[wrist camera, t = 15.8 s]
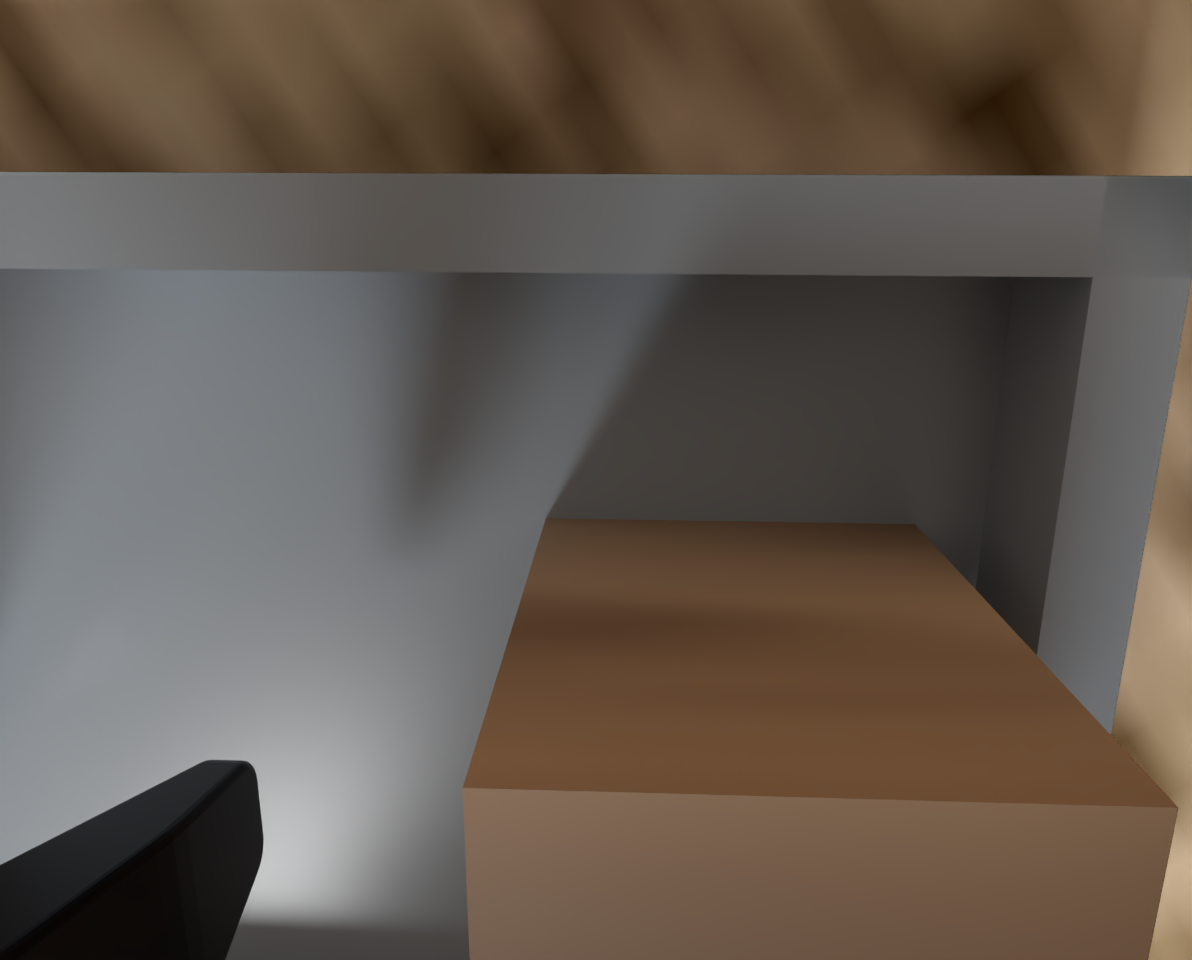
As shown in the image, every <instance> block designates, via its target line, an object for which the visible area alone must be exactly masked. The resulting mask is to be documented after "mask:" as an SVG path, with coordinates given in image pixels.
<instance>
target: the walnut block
mask: <svg viewBox="0 0 1192 960" xmlns="http://www.w3.org/2000/svg"><path fill="white" fill-rule="evenodd" d="M463 810H464V834H465V858H466V882H467V907H468V931H469V955H470V960H1148V957H1149V952H1150V947H1151V942H1152V937H1153V932H1154V927H1155V922H1156V917H1157V912H1158V907H1159V902H1160V897H1161V892H1162V887H1163V882H1164V877H1165V872H1166V867H1167V862H1168V857H1169V852H1170V847H1171V842H1172V837H1173V832H1174V827H1175V822H1176V817H1177V813H1178V807H1177V806H1176V805H1175V804H1174V803H1173V801H1172V800H1171V799H1170V798H1169V797H1168V796H1167V795H1166V794H1165V793H1164V792H1163V791H1162V790H1161V789H1160V787H1159V786H1158V785H1157V784H1156V783H1155V782H1154V781H1153V780H1152V779H1151V778H1150V777H1149V776H1148V775H1147V773H1146V772H1145V771H1144V770H1143V769H1142V768H1141V767H1140V766H1139V765H1138V764H1137V763H1136V762H1135V761H1134V759H1133V758H1132V757H1131V756H1130V755H1129V754H1128V753H1127V752H1126V751H1125V750H1124V749H1123V748H1122V747H1121V746H1120V744H1119V743H1118V742H1117V741H1116V740H1115V739H1114V738H1113V737H1112V736H1111V735H1110V734H1109V733H1108V732H1107V730H1106V729H1105V728H1104V727H1103V726H1102V725H1101V724H1100V723H1099V722H1098V721H1097V720H1096V719H1095V718H1094V716H1093V715H1092V714H1091V713H1090V712H1089V711H1088V710H1087V709H1086V708H1085V707H1084V706H1083V705H1082V704H1081V702H1080V701H1079V700H1078V699H1077V698H1076V697H1075V696H1074V695H1073V694H1072V693H1071V692H1070V691H1069V690H1068V688H1067V687H1066V686H1065V685H1064V684H1063V683H1062V682H1061V681H1060V680H1059V679H1058V678H1057V677H1056V676H1055V674H1054V673H1053V672H1052V671H1051V670H1050V669H1049V668H1048V667H1047V666H1046V665H1045V664H1044V663H1043V662H1042V660H1041V659H1040V658H1039V657H1038V656H1037V655H1036V654H1035V653H1034V652H1033V651H1032V650H1031V649H1030V648H1029V646H1028V645H1027V644H1026V643H1025V642H1024V641H1023V640H1022V639H1021V638H1020V637H1019V636H1018V635H1017V634H1016V632H1015V631H1014V630H1013V629H1012V628H1011V627H1010V626H1009V625H1008V624H1007V623H1006V622H1005V621H1004V620H1003V618H1002V617H1001V616H1000V615H999V614H998V613H997V612H996V611H995V610H994V609H993V608H992V607H991V606H990V605H989V603H988V602H987V601H986V600H985V599H984V598H983V597H982V596H981V595H980V594H979V593H978V592H977V591H976V589H975V588H974V587H973V586H972V585H971V584H970V583H969V582H968V581H967V580H966V579H965V578H964V577H963V575H962V574H961V573H960V572H959V571H958V570H957V569H956V568H955V567H954V566H953V565H952V564H951V563H950V561H949V560H948V559H947V558H946V557H945V556H944V555H943V554H942V553H941V552H940V551H939V550H938V549H937V547H936V546H935V545H934V544H933V543H932V542H931V541H930V540H929V539H928V538H927V537H926V536H925V535H924V533H923V532H922V531H921V530H920V529H919V528H918V527H917V526H916V525H915V524H873V523H811V522H748V521H685V520H623V519H560V518H546V519H545V523H544V526H543V529H542V532H541V536H540V539H539V542H538V545H537V548H536V552H535V555H534V558H533V561H532V565H531V568H530V571H529V574H528V578H527V581H526V584H525V587H524V591H523V594H522V597H521V600H520V604H519V607H518V610H517V613H516V616H515V620H514V623H513V626H512V629H511V633H510V636H509V639H508V642H507V646H506V649H505V652H504V655H503V659H502V662H501V665H500V668H499V671H498V675H497V678H496V681H495V684H494V688H493V691H492V694H491V697H490V701H489V704H488V707H487V710H486V714H485V717H484V720H483V723H482V727H481V730H480V733H479V736H478V739H477V743H476V746H475V749H474V752H473V756H472V759H471V762H470V765H469V769H468V772H467V775H466V778H465V782H464V785H463Z"/></svg>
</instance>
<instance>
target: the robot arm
mask: <svg viewBox="0 0 1192 960" xmlns="http://www.w3.org/2000/svg"><path fill="white" fill-rule="evenodd" d="M263 845H264V838H263V827H262V818H261V808H260V799H259V790H258V780H257V774H256V772H255V769H254V767H253V766H252V765H251V764H250V763H249V762H248V761H241V760H206V761H203V762H201V763H199V764H197V765H195V766H193V767H191V768H189V769H187V770H185V771H183V772H181V773H179V774H177V775H175V776H173V777H171V778H170V779H168V780H166V781H164V782H162V783H160V784H158V785H156V786H154V787H152V788H150V789H148V790H146V791H144V792H142V793H140V794H138V795H136V796H134V797H132V798H130V799H128V800H126V801H124V802H122V803H121V804H119V805H117V806H115V807H113V808H111V809H109V810H107V811H105V812H103V813H101V814H99V815H97V816H95V817H93V818H91V819H89V820H87V821H85V822H83V823H81V824H79V825H77V826H75V827H73V828H72V829H70V830H68V831H66V832H64V833H62V834H60V835H58V836H56V837H54V838H52V839H50V840H48V841H46V842H44V843H42V844H40V845H38V846H36V847H34V848H32V849H30V850H28V851H26V852H24V853H22V854H21V855H19V856H17V857H15V858H13V859H11V860H9V861H7V862H5V863H3V864H1V865H0V960H226V957H227V954H228V952H229V949H230V946H231V943H232V941H233V938H234V935H235V933H236V930H237V927H238V924H239V922H240V919H241V916H242V914H243V911H244V908H245V905H246V903H247V900H248V897H249V895H250V892H251V889H252V887H253V884H254V881H255V878H256V876H257V873H258V870H259V867H260V864H261V860H262V855H263Z"/></svg>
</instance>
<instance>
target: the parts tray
mask: <svg viewBox="0 0 1192 960" xmlns="http://www.w3.org/2000/svg"><path fill="white" fill-rule="evenodd" d="M1191 279H1192V176H1012V175H734V174H456V173H178V172H0V865H1V864H3V863H5V862H7V861H9V860H11V859H13V858H15V857H17V856H19V855H21V854H22V853H24V852H26V851H28V850H30V849H32V848H34V847H36V846H38V845H40V844H42V843H44V842H46V841H48V840H50V839H52V838H54V837H56V836H58V835H60V834H62V833H64V832H66V831H68V830H70V829H72V828H73V827H75V826H77V825H79V824H81V823H83V822H85V821H87V820H89V819H91V818H93V817H95V816H97V815H99V814H101V813H103V812H105V811H107V810H109V809H111V808H113V807H115V806H117V805H119V804H121V803H122V802H124V801H126V800H128V799H130V798H132V797H134V796H136V795H138V794H140V793H142V792H144V791H146V790H148V789H150V788H152V787H154V786H156V785H158V784H160V783H162V782H164V781H166V780H168V779H170V778H171V777H173V776H175V775H177V774H179V773H181V772H183V771H185V770H187V769H189V768H191V767H193V766H195V765H197V764H199V763H201V762H203V761H206V760H241V761H248V762H249V763H250V764H251V765H252V766H253V767H254V769H255V772H256V774H257V780H258V790H259V799H260V808H261V818H262V827H263V838H264V845H263V855H262V860H261V864H260V867H259V870H258V873H257V876H256V878H255V881H254V884H253V887H252V889H251V892H250V895H249V897H248V900H247V903H246V905H245V908H244V911H243V914H242V916H241V919H240V922H239V924H238V927H237V930H236V933H235V935H234V938H233V941H232V943H231V946H230V949H229V952H228V954H227V957H226V960H470V955H469V931H468V907H467V882H466V858H465V834H464V810H463V785H464V782H465V778H466V775H467V772H468V769H469V765H470V762H471V759H472V756H473V752H474V749H475V746H476V743H477V739H478V736H479V733H480V730H481V727H482V723H483V720H484V717H485V714H486V710H487V707H488V704H489V701H490V697H491V694H492V691H493V688H494V684H495V681H496V678H497V675H498V671H499V668H500V665H501V662H502V659H503V655H504V652H505V649H506V646H507V642H508V639H509V636H510V633H511V629H512V626H513V623H514V620H515V616H516V613H517V610H518V607H519V604H520V600H521V597H522V594H523V591H524V587H525V584H526V581H527V578H528V574H529V571H530V568H531V565H532V561H533V558H534V555H535V552H536V548H537V545H538V542H539V539H540V536H541V532H542V529H543V526H544V523H545V519H546V518H560V519H623V520H685V521H748V522H811V523H873V524H915V525H916V526H917V527H918V528H919V529H920V530H921V531H922V532H923V533H924V535H925V536H926V537H927V538H928V539H929V540H930V541H931V542H932V543H933V544H934V545H935V546H936V547H937V549H938V550H939V551H940V552H941V553H942V554H943V555H944V556H945V557H946V558H947V559H948V560H949V561H950V563H951V564H952V565H953V566H954V567H955V568H956V569H957V570H958V571H959V572H960V573H961V574H962V575H963V577H964V578H965V579H966V580H967V581H968V582H969V583H970V584H971V585H972V586H973V587H974V588H975V589H976V591H977V592H978V593H979V594H980V595H981V596H982V597H983V598H984V599H985V600H986V601H987V602H988V603H989V605H990V606H991V607H992V608H993V609H994V610H995V611H996V612H997V613H998V614H999V615H1000V616H1001V617H1002V618H1003V620H1004V621H1005V622H1006V623H1007V624H1008V625H1009V626H1010V627H1011V628H1012V629H1013V630H1014V631H1015V632H1016V634H1017V635H1018V636H1019V637H1020V638H1021V639H1022V640H1023V641H1024V642H1025V643H1026V644H1027V645H1028V646H1029V648H1030V649H1031V650H1032V651H1033V652H1034V653H1035V654H1036V655H1037V656H1038V657H1039V658H1040V659H1041V660H1042V662H1043V663H1044V664H1045V665H1046V666H1047V667H1048V668H1049V669H1050V670H1051V671H1052V672H1053V673H1054V674H1055V676H1056V677H1057V678H1058V679H1059V680H1060V681H1061V682H1062V683H1063V684H1064V685H1065V686H1066V687H1067V688H1068V690H1069V691H1070V692H1071V693H1072V694H1073V695H1074V696H1075V697H1076V698H1077V699H1078V700H1079V701H1080V702H1081V704H1082V705H1083V706H1084V707H1085V708H1086V709H1087V710H1088V711H1089V712H1090V713H1091V714H1092V715H1093V716H1094V718H1095V719H1096V720H1097V721H1098V722H1099V723H1100V724H1101V725H1102V726H1103V727H1104V728H1105V729H1106V730H1107V732H1108V733H1109V734H1110V735H1111V732H1112V726H1113V720H1114V715H1115V709H1116V703H1117V698H1118V692H1119V686H1120V681H1121V675H1122V669H1123V664H1124V658H1125V652H1126V647H1127V641H1128V635H1129V630H1130V624H1131V618H1132V613H1133V607H1134V601H1135V596H1136V590H1137V584H1138V579H1139V573H1140V567H1141V562H1142V556H1143V550H1144V545H1145V539H1146V533H1147V528H1148V522H1149V516H1150V511H1151V505H1152V499H1153V494H1154V488H1155V483H1156V477H1157V471H1158V466H1159V460H1160V454H1161V449H1162V443H1163V437H1164V432H1165V426H1166V420H1167V415H1168V409H1169V403H1170V398H1171V392H1172V386H1173V381H1174V375H1175V369H1176V364H1177V358H1178V352H1179V347H1180V341H1181V335H1182V330H1183V324H1184V318H1185V313H1186V307H1187V301H1188V296H1189V290H1190V284H1191Z"/></svg>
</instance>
